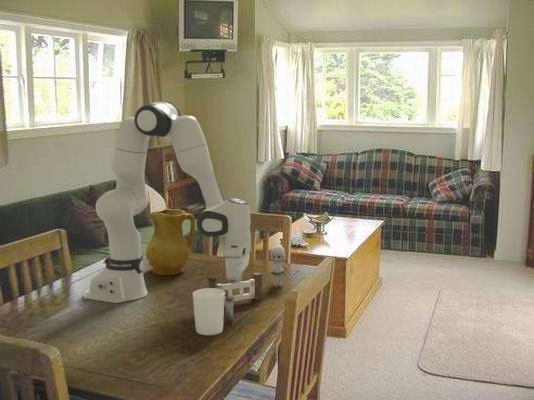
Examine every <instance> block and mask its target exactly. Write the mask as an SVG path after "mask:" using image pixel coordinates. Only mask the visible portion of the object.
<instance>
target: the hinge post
mask: <svg viewBox="0 0 534 400" xmlns="http://www.w3.org/2000/svg"><path fill="white" fill-rule="evenodd" d="M217 278H218V277H217V276H208V277H207V281H208V288H217Z"/></svg>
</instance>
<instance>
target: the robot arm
mask: <svg viewBox="0 0 534 400" xmlns="http://www.w3.org/2000/svg"><path fill="white" fill-rule="evenodd" d="M119 123H120V124H119V126H118V129H117V134H116V136H115V141H114V149H113V156H112V162H111V169H112V173H114V175H115V182H116V186H115V189H111V190H108V191H106V192H104V193H103V194H102V195H101V196H100V197H99V198H98V199H97V200H96V202H95V211H96V212H95V213H96V215H97V217H98V218H100V220H101V221H103V223H104V226H105V229H106V233H107V237H108V247H109V255H108V256H107V257H106V258H105V259H104V260H103V261H102V262H103V263H102V264H104V265H105V267H103V268H102V269H100V270H99V272H97V273H96V274H95V275H94V276H93V277H91V280H90V281H89V282H90V283H89V288H88V289H86V290H85V291H84V292H83V294H82V295H83V296H82V297H83V299H85V300H86V299H87V300H93V301H99V302H100V301H101V302H106V303H114V304H120V303H123V302H129V301H136V300H138V299H141V298H144V297H146V296H147V295H148V294H149V292H148V290H147V287H146V284H145V283H146V282H145V278H144V255H143V254H142V236H141V233H140V231H138V230H137V228H136V225H135V221H134V216H136V215H139V214H141V213H142V212H143V211H144V210H145V209H146V208H147V207H148V205H149V202H150V195H149V192H148V191H147V189H146V182H145V180H146V179H145V169H146V161H147V154H148V153H147V152H148V147H149V140H150V138H151V137H158V138H159V137H160V138H164V137H165V138H166V137H168V139H170V141H171V143H172V147H173V150H174V153H175V154H174V155H175V157H176V160H177V162H178V165H179V167H180V169H181V170H182V171H183V172H184V173H185V174H187V175H189V176H191V177H192V178H193V179H195V180H196V182H197V183H198V185H199V187H200V190H201V194H202V197H203V200H204V202H205V209H204V210H203V211H201V212H200V213H199V214H198V216H197V218H196V220H195V225H196V228H197V231H199V233H200V234H201V235H203V236H204V237H208V238H210V237H211V238H213V237H219V236H224V248H223V251H222V252H223V253H222V256H223V257H225V258H224V259H225V260H224V264H225V266H224V267H225V274H226V279H227V280H230V281H232V280H234V283H235V282H242V281H243V273H244V271H245V270H246V269H247V268H248V265H249V264H250V263H249V262H250V259H249V257H250V256H249V254H250V252H251V251H252V236H251V233H250V230H251V229H250V228H251V224H252V223H251V210H250V206H249V203H248V202H247V201H246V200H243V199H241V198H236V197H230V198H227V199H226V200H225V199H224V196H223V194H222V191H221V187H220V186H219V185H220V184H219V182H218V179H217V176H216V174H215V171H214V166H213V164H212V159H211V154H210V150H209V148H208V147H209V146H208V144H207V140H206V138H205V134H204V132H203V130H202V128H201V125H200V123H199V121H198V119H197V118H196V117H194V116H193V115H189V114H188V115H185V114H184V115H182V114H181V111H180V108H178V106H176V104H174V103H172V102H170V101H154V102H151V103H145V104H144V105H142V106H141V107H139V108H138V109H137V110H136V112H135V115H134V116H128V117H125V118H123V119H122V120H121V122H119Z"/></svg>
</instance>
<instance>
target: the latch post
mask: <svg viewBox="0 0 534 400" xmlns="http://www.w3.org/2000/svg"><path fill="white" fill-rule="evenodd" d="M232 296H233V295H232ZM232 296H225V300H226V302H225V323H227V324H232V323H234V301H233V300H234V297H232Z"/></svg>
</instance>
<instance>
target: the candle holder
mask: <svg viewBox="0 0 534 400" xmlns="http://www.w3.org/2000/svg"><path fill="white" fill-rule="evenodd" d="M225 295H226V291H225V290H221V289H217V287H216V288H209V287H205V288H200V289H199V288H198V289H196V290H194V291H193V292H192V301H193V302H192V303H193V314H194V315H193V316H194V323H195V324H194V325H195V326H194V327H195V331H196V333H197V334H199V335H201V336H202V335H203V336H216V335H219V334H221V333H222V332H223V330H224V322H225V321H224V318H225V316H224V315H225V303H224V298H225V297H226V296H225Z"/></svg>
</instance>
